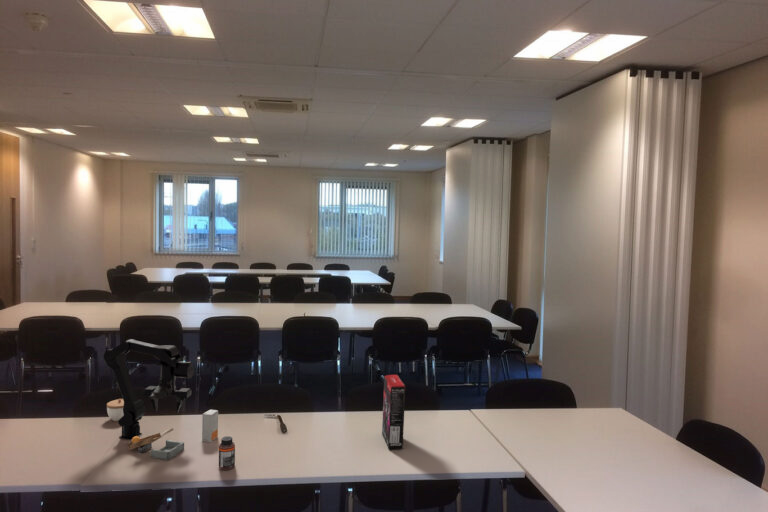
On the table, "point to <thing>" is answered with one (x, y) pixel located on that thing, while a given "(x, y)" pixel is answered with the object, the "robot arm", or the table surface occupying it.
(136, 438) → the ball
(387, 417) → the graphics card box
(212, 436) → the skincare box
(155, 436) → the lever
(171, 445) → the tray
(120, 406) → the lidded jar
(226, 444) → the supplement bottle
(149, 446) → the fulcrum
